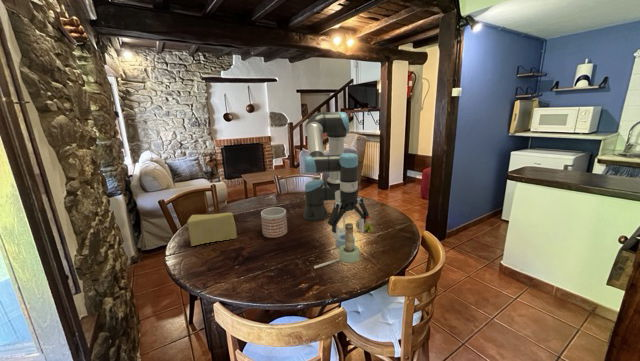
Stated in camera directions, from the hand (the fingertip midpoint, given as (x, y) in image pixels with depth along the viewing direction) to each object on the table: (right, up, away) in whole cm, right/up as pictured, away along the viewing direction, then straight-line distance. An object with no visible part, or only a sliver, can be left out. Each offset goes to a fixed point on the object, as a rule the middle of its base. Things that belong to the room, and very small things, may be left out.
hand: (348, 235), depth 119 cm
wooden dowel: (0, -11, +2) cm, 11 cm away
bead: (0, -11, +2) cm, 11 cm away
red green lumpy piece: (+11, -4, +28) cm, 30 cm away
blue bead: (0, -8, +14) cm, 16 cm away
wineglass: (0, -4, +28) cm, 28 cm away
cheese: (-69, -8, +22) cm, 73 cm away
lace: (-10, -12, -3) cm, 16 cm away
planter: (-38, -5, +30) cm, 49 cm away
